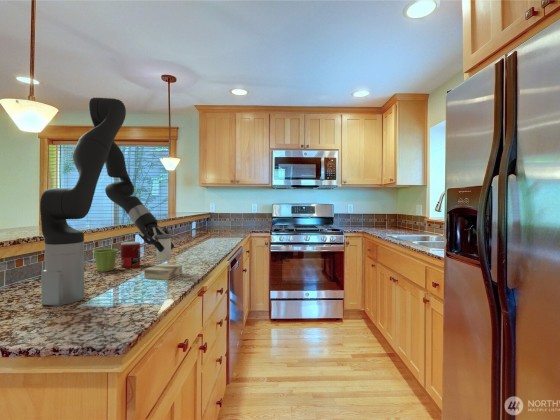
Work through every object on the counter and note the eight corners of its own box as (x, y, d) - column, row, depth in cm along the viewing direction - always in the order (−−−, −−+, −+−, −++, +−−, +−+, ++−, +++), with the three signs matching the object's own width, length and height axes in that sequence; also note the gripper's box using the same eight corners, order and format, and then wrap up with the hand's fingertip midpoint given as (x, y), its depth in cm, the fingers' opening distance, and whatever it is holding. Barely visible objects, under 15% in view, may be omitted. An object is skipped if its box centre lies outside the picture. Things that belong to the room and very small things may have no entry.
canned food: (134, 268, 125) (134, 243, 125) (117, 268, 126) (116, 243, 125) (143, 264, 133) (143, 241, 133) (126, 264, 133) (126, 241, 133)
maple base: (167, 279, 107) (167, 270, 107) (144, 278, 109) (144, 269, 109) (181, 273, 117) (181, 265, 116) (160, 272, 118) (160, 263, 118)
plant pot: (96, 268, 125) (96, 249, 124) (120, 267, 127) (120, 248, 127) (89, 273, 116) (89, 252, 115) (115, 272, 118) (114, 251, 118)
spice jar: (165, 261, 109) (165, 235, 109) (153, 260, 110) (153, 235, 110) (174, 258, 115) (174, 233, 115) (161, 257, 116) (161, 233, 116)
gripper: (134, 212, 107) (160, 245, 104) (160, 211, 121) (184, 240, 118) (123, 226, 109) (149, 258, 106) (150, 223, 123) (173, 252, 120)
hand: (167, 249), depth 112 cm, fingers closed on spice jar, 5 cm apart
